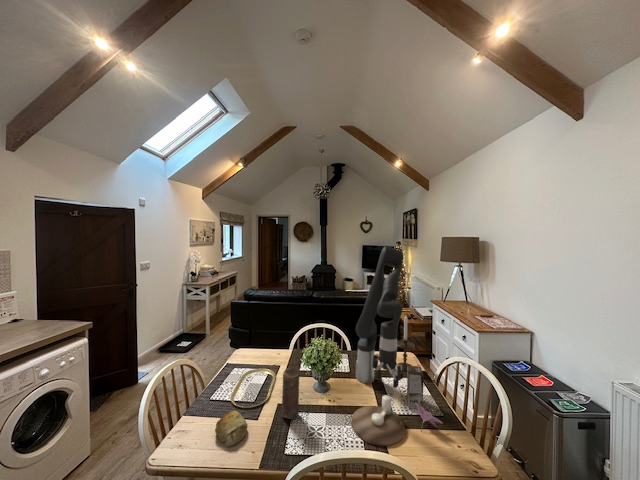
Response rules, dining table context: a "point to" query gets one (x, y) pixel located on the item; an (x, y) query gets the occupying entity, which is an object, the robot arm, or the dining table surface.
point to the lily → (426, 416)
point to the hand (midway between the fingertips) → (386, 383)
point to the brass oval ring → (243, 379)
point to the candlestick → (405, 344)
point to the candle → (290, 393)
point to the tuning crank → (386, 410)
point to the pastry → (231, 428)
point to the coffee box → (415, 386)
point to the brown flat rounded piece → (377, 427)
